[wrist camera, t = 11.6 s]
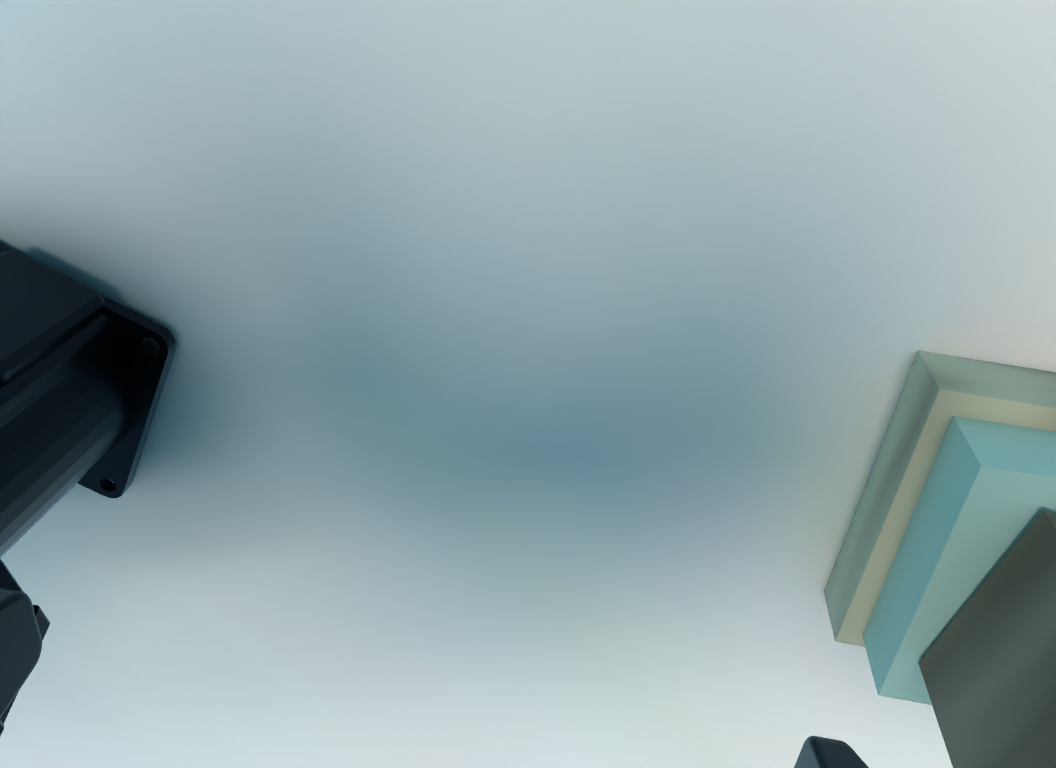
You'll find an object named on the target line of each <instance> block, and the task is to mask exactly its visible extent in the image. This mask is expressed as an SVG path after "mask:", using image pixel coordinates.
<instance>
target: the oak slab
mask: <svg viewBox="0 0 1056 768" xmlns="http://www.w3.org/2000/svg"><path fill="white" fill-rule="evenodd" d="M953 416H957V417H964V418H970V419H977V420H983V421H990V422H996V423H1003V424H1009V425H1016V426H1022V427H1029V428H1035V429H1042V430H1048V431H1055V432H1056V373H1054V372H1048V371H1042V370H1036V369H1030V368H1023V367H1017V366H1011V365H1005V364H999V363H992V362H986V361H980V360H974V359H968V358H961V357H955V356H949V355H943V354H936V353H930V352H924V351H918V353H917V355H916V358H915V360H914V363H913V365H912V368H911V371H910V373H909V376H908V378H907V381H906V383H905V386H904V389H903V391H902V394H901V396H900V399H899V401H898V404H897V407H896V409H895V412H894V414H893V417H892V419H891V422H890V424H889V427H888V430H887V432H886V435H885V437H884V440H883V442H882V445H881V448H880V450H879V453H878V455H877V458H876V460H875V463H874V466H873V468H872V471H871V473H870V476H869V478H868V481H867V483H866V486H865V489H864V491H863V494H862V496H861V499H860V501H859V504H858V507H857V509H856V512H855V514H854V517H853V519H852V522H851V525H850V527H849V530H848V532H847V535H846V537H845V540H844V543H843V545H842V548H841V550H840V553H839V555H838V558H837V560H836V563H835V566H834V568H833V571H832V573H831V576H830V578H829V581H828V584H827V586H826V589H825V591H824V594H825V598H826V603H827V607H828V612H829V616H830V620H831V625H832V629H833V634H834V638H835V641H837V642H842V643H847V644H853V645H858V646H863V647H865V643H864V640H863V636H862V635H863V633H864V630H865V628H866V625H867V623H868V620H869V618H870V616H871V613H872V611H873V608H874V606H875V604H876V601H877V599H878V596H879V594H880V591H881V589H882V587H883V584H884V582H885V579H886V577H887V575H888V572H889V570H890V567H891V565H892V562H893V560H894V558H895V555H896V553H897V550H898V548H899V545H900V543H901V541H902V538H903V536H904V533H905V531H906V529H907V526H908V524H909V521H910V519H911V516H912V514H913V512H914V509H915V507H916V504H917V502H918V500H919V497H920V495H921V492H922V490H923V487H924V485H925V483H926V480H927V478H928V475H929V473H930V471H931V468H932V466H933V463H934V461H935V458H936V456H937V454H938V451H939V449H940V446H941V444H942V442H943V439H944V437H945V434H946V432H947V429H948V427H949V425H950V422H951V420H952V417H953Z"/></svg>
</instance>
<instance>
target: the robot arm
mask: <svg viewBox="0 0 1056 768" xmlns="http://www.w3.org/2000/svg"><path fill="white" fill-rule="evenodd" d="M149 338H151V339H154V340H155V341H156V342H157V343H158V345H159V348H158V347H155V346H154V345H153V344H152V343H151V341H150V340H149ZM175 343H176V342H175V339H174V336H173V335H172V334H171V332H170V331H169V330H168V329H167V328H165V327H164V326H162V325H160V324H158V323H156V322H154V321H152V320H150V319H148V318H146V317H144V316H142V315H140V314H138V313H137V312H135V311H133V310H131V309H129V308H127V307H125V306H123V305H121V304H119V303H117V302H115V301H113V300H111V299H109V298H107V297H105V296H103V295H101V294H99V293H97V292H96V291H94V290H92V289H90V288H88V287H86V286H84V285H82V284H80V283H78V282H76V281H74V280H72V279H70V278H68V277H66V276H64V275H62V274H60V273H58V272H56V271H54V270H52V269H50V268H48V267H46V266H44V265H42V264H40V263H38V262H36V261H34V260H32V259H30V258H29V257H27V256H25V255H23V254H21V253H19V252H17V251H14V250H12V249H10V248H8V247H6V246H4V245H2V244H0V736H1V734H2V732H3V730H4V722H5V719H6V717H7V715H8V713H9V711H10V709H11V707H12V704H13V702H14V700H15V698H16V696H17V694H18V692H19V690H20V688H21V687H22V685H23V684H24V682H25V681H26V679H27V678H28V676H29V675H30V673H31V672H32V670H33V669H34V667H35V665H36V664H37V661H38V659H39V657H40V653H41V649H42V640H43V638H44V636H45V634H46V631H47V629H48V627H49V625H50V622H49V620H48V619H47V617H46V616H45V614H44V613H43V612H42V610H41V609H40V607H39V606H38V605H32V602H31V600H30V598H29V596H28V595H27V594H26V593H24V592H23V590H22V589H21V587H20V586H19V584H18V583H17V582H16V580H15V579H14V577H13V576H12V574H11V573H10V571H9V570H8V569H7V567H6V566H5V564H4V563H3V561H2V560H1V557H2V556H3V555H4V554H5V553H6V552H7V551H8V550H9V549H10V548H11V547H12V546H13V545H14V544H15V543H16V542H17V541H18V540H19V539H20V538H21V537H22V536H23V535H24V534H25V533H26V532H27V531H28V530H29V529H30V528H31V527H32V526H33V525H34V524H35V523H36V522H37V521H38V520H40V519H41V518H42V517H43V516H44V515H45V514H46V513H47V512H48V511H49V510H50V509H51V508H52V507H53V506H54V505H55V504H56V503H57V502H58V501H59V500H60V499H61V498H62V497H63V496H64V495H65V494H66V493H67V492H68V491H69V490H70V489H71V488H72V487H73V486H74V485H75V484H76V483H78V484H80V485H82V486H84V487H87V488H89V489H91V490H93V491H95V492H97V493H99V494H101V495H103V496H106V497H109V498H118V497H120V496H121V495H122V494H123V493H124V492H125V491H126V490H127V489H128V488H129V486H130V485H131V482H132V479H133V476H134V473H135V470H136V467H137V464H138V460H139V457H140V454H141V451H142V448H143V445H144V442H145V439H146V436H147V433H148V430H149V427H150V424H151V421H152V418H153V414H154V411H155V408H156V405H157V402H158V399H159V396H160V393H161V390H162V387H163V384H164V381H165V378H166V375H167V372H168V368H169V365H170V362H171V359H172V356H173V353H174V350H175ZM109 479H110V480H112V481H113V482H114V483H113V482H112V481H110V480H109ZM794 768H868V766H867V765H866V764H865V763H864V762H863V761H862V760H861V758H860V757H859V756H858V755H857V754H856V753H855V752H854V750H853V749H852V748H851V747H850V746H849V745H847V744H846V743H845V742H843V741H839V740H834V739H829V738H823V737H818V736H810V737H808V738H807V739H806V741H805V742H804V744H803V747H802V749H801V752H800V754H799V757H798V759H797V762H796V764H795V767H794Z"/></svg>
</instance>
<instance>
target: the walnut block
mask: <svg viewBox="0 0 1056 768" xmlns="http://www.w3.org/2000/svg"><path fill="white" fill-rule="evenodd" d="M918 664H919V667H920V670H921V673H922V676H923V679H924V682H925V685H926V688H927V691H928V694H929V697H930V700H931V703H932V706H933V709H934V712H935V715H936V718H937V721H938V724H939V727H940V730H941V733H942V736H943V739H944V742H945V745H946V748H947V751H948V754H949V757H950V760H951V763H952V766H953V768H1056V514H1055V513H1052V512H1049V511H1046V510H1044V511H1043V512H1042V513H1041V515H1040V516H1039V517H1038V518H1037V519H1036V521H1035V522H1034V523H1033V524H1032V525H1031V527H1030V528H1029V529H1028V530H1027V531H1026V533H1025V534H1024V535H1023V536H1022V538H1021V539H1020V540H1019V541H1018V542H1017V544H1016V545H1015V546H1014V547H1013V548H1012V550H1011V551H1010V552H1009V553H1008V554H1007V556H1006V557H1005V558H1004V559H1003V561H1002V562H1001V563H1000V564H999V565H998V567H997V568H996V569H995V570H994V571H993V573H992V574H991V575H990V576H989V577H988V579H987V580H986V581H985V582H984V584H983V585H982V586H981V587H980V588H979V590H978V591H977V592H976V593H975V594H974V596H973V597H972V598H971V599H970V600H969V602H968V603H967V604H966V605H965V607H964V608H963V609H962V610H961V611H960V613H959V614H958V615H957V616H956V617H955V619H954V620H953V621H952V622H951V623H950V625H949V626H948V627H947V628H946V630H945V631H944V632H943V633H942V634H941V636H940V637H939V638H938V639H937V640H936V642H935V643H934V644H933V645H932V646H931V648H930V649H929V650H928V651H927V653H926V654H925V655H924V656H923V657H922V659H921V660H920V661H919V662H918Z"/></svg>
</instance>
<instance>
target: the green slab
mask: <svg viewBox="0 0 1056 768" xmlns="http://www.w3.org/2000/svg"><path fill="white" fill-rule="evenodd" d="M1044 510H1046V511H1049V512H1052V513H1055V514H1056V432H1055V431H1048V430H1042V429H1035V428H1029V427H1022V426H1016V425H1009V424H1003V423H996V422H990V421H983V420H977V419H970V418H964V417H957V416H953V417H952V420H951V422H950V425H949V427H948V429H947V432H946V434H945V437H944V439H943V442H942V444H941V446H940V449H939V451H938V454H937V456H936V458H935V461H934V463H933V466H932V468H931V471H930V473H929V475H928V478H927V480H926V483H925V485H924V487H923V490H922V492H921V495H920V497H919V500H918V502H917V504H916V507H915V509H914V512H913V514H912V516H911V519H910V521H909V524H908V526H907V529H906V531H905V533H904V536H903V538H902V541H901V543H900V545H899V548H898V550H897V553H896V555H895V558H894V560H893V562H892V565H891V567H890V570H889V572H888V575H887V577H886V579H885V582H884V584H883V587H882V589H881V591H880V594H879V596H878V599H877V601H876V604H875V606H874V608H873V611H872V613H871V616H870V618H869V620H868V623H867V625H866V628H865V630H864V633H863V635H862V636H863V640H864V643H865V647H866V651H867V655H868V658H869V662H870V666H871V670H872V674H873V677H874V681H875V685H876V689H877V692H878V695H880V696H886V697H891V698H897V699H902V700H908V701H913V702H919V703H924V704H930V705H932V703H931V700H930V697H929V694H928V691H927V688H926V685H925V682H924V679H923V676H922V673H921V670H920V667H919V664H918V662H919V661H920V660H921V659H922V657H923V656H924V655H925V654H926V653H927V651H928V650H929V649H930V648H931V646H932V645H933V644H934V643H935V642H936V640H937V639H938V638H939V637H940V636H941V634H942V633H943V632H944V631H945V630H946V628H947V627H948V626H949V625H950V623H951V622H952V621H953V620H954V619H955V617H956V616H957V615H958V614H959V613H960V611H961V610H962V609H963V608H964V607H965V605H966V604H967V603H968V602H969V600H970V599H971V598H972V597H973V596H974V594H975V593H976V592H977V591H978V590H979V588H980V587H981V586H982V585H983V584H984V582H985V581H986V580H987V579H988V577H989V576H990V575H991V574H992V573H993V571H994V570H995V569H996V568H997V567H998V565H999V564H1000V563H1001V562H1002V561H1003V559H1004V558H1005V557H1006V556H1007V554H1008V553H1009V552H1010V551H1011V550H1012V548H1013V547H1014V546H1015V545H1016V544H1017V542H1018V541H1019V540H1020V539H1021V538H1022V536H1023V535H1024V534H1025V533H1026V531H1027V530H1028V529H1029V528H1030V527H1031V525H1032V524H1033V523H1034V522H1035V521H1036V519H1037V518H1038V517H1039V516H1040V515H1041V513H1042V512H1043V511H1044Z"/></svg>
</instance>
